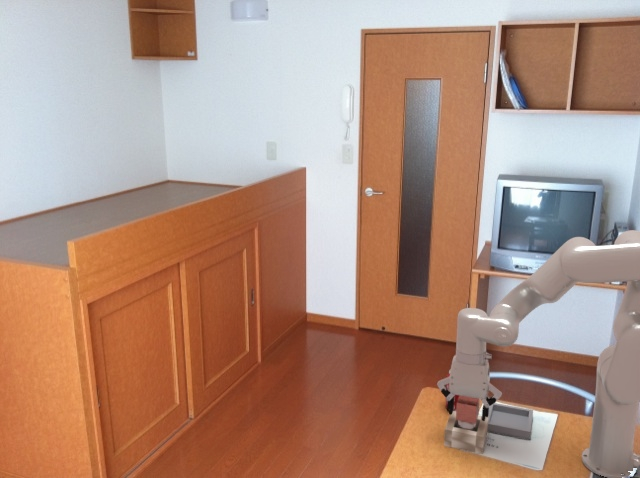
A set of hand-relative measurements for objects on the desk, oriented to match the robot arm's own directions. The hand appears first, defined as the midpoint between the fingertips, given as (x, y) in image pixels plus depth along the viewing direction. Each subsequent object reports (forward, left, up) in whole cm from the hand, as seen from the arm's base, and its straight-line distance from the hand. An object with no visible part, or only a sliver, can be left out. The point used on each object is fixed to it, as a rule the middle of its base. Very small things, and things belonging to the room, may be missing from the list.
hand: (467, 415), depth 156 cm
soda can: (+5, -15, -8) cm, 18 cm away
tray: (-10, -12, -7) cm, 17 cm away
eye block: (0, 0, -7) cm, 7 cm away
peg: (0, 0, -7) cm, 7 cm away
